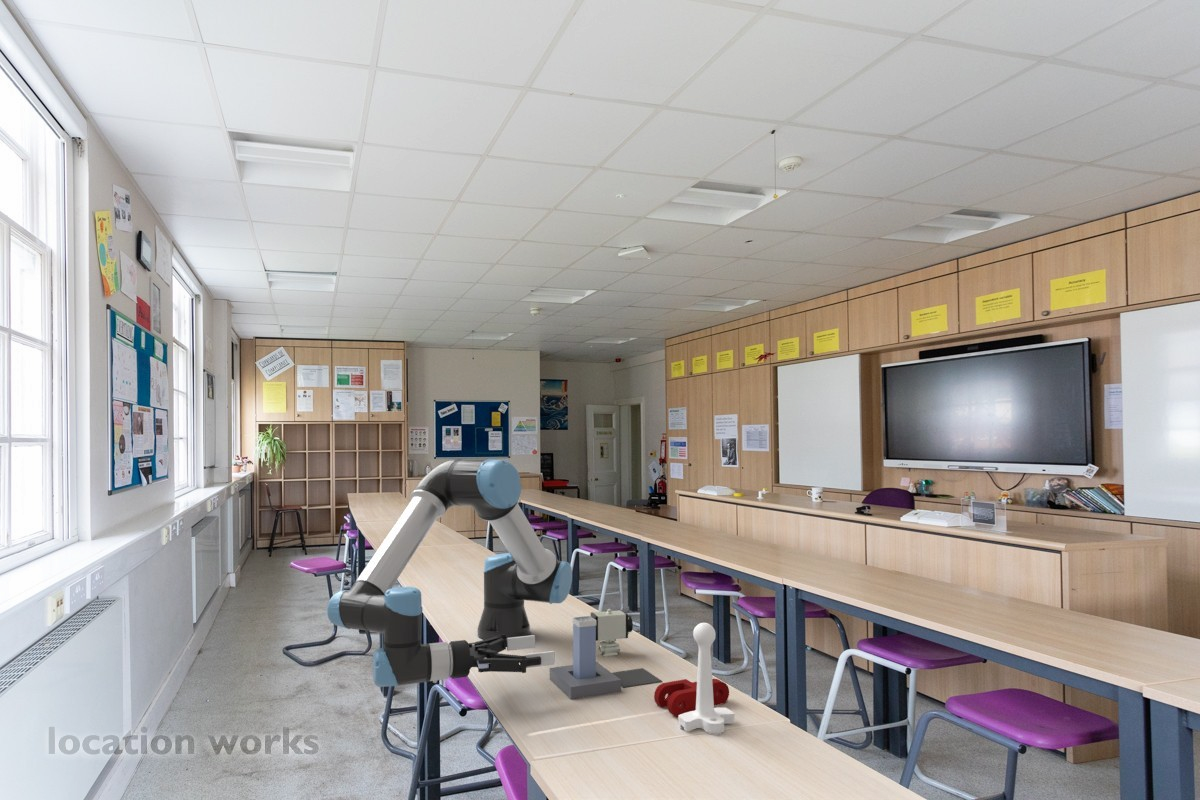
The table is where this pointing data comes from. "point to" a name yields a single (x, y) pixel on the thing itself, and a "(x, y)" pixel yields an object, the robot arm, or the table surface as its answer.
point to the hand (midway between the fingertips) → (544, 649)
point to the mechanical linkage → (686, 695)
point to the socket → (585, 682)
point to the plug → (584, 647)
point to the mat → (636, 677)
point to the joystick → (705, 689)
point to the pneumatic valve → (611, 630)
